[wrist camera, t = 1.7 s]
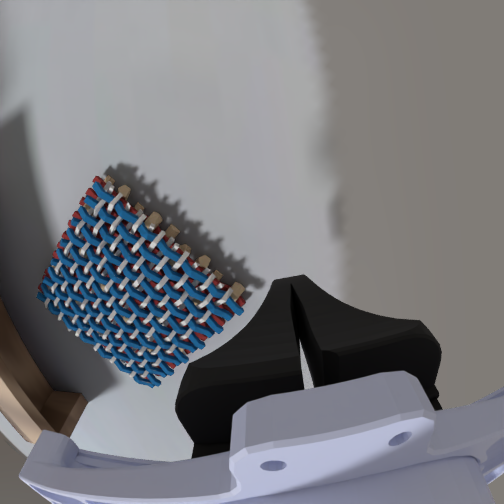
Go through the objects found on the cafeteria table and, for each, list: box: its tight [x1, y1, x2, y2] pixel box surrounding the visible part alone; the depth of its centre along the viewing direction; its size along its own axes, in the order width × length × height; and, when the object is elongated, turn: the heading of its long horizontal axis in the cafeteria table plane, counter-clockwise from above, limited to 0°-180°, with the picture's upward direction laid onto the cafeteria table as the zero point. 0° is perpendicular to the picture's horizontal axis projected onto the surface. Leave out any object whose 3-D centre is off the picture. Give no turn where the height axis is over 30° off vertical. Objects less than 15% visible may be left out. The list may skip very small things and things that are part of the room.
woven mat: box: [36, 175, 246, 388], centre depth 16 cm, size 10×11×2 cm
